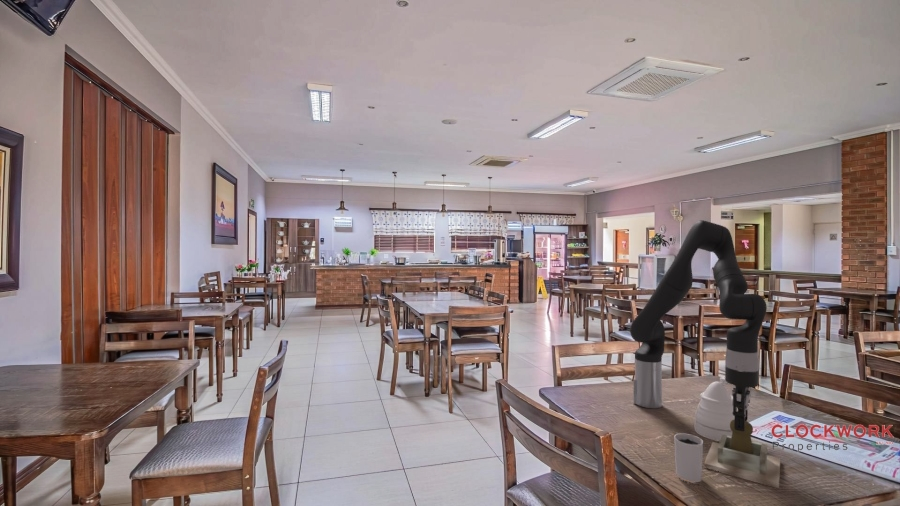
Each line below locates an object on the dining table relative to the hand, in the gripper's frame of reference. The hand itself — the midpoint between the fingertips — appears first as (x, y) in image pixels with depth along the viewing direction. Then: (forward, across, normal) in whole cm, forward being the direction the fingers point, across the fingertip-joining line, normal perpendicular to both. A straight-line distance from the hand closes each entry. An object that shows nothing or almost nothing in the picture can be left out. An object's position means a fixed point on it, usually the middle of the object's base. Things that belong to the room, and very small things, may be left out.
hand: (741, 425), depth 115 cm
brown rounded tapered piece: (+10, 0, 0) cm, 10 cm away
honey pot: (+11, -19, -8) cm, 24 cm away
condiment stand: (+11, 0, 0) cm, 11 cm away
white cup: (+11, +16, -10) cm, 22 cm away
